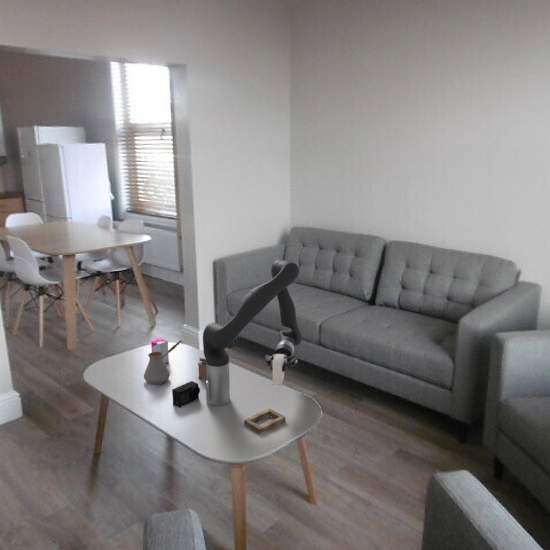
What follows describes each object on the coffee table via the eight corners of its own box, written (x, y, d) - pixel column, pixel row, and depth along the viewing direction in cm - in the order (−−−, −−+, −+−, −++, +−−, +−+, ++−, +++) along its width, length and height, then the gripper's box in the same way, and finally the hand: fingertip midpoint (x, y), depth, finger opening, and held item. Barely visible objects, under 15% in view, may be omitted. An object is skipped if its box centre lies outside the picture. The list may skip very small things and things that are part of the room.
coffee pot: (154, 389, 227) (152, 357, 223) (138, 381, 234) (136, 350, 230) (192, 372, 243) (190, 342, 239) (175, 366, 250) (174, 336, 246)
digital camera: (181, 409, 210) (180, 393, 209) (172, 404, 214) (171, 389, 212) (200, 399, 218) (200, 384, 216) (192, 395, 221) (191, 380, 220)
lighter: (216, 378, 237) (216, 357, 235) (213, 381, 234) (213, 360, 232) (200, 376, 239) (199, 355, 237) (197, 379, 236) (196, 358, 234)
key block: (272, 384, 206) (272, 361, 203) (275, 376, 212) (275, 353, 210) (281, 385, 205) (281, 361, 202) (284, 377, 212) (284, 354, 209)
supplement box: (169, 362, 254) (168, 340, 251) (160, 366, 249) (159, 344, 246) (160, 359, 257) (159, 337, 254) (151, 364, 252) (150, 341, 249)
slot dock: (260, 434, 193) (260, 429, 192) (244, 424, 199) (244, 420, 198) (285, 421, 201) (285, 416, 201) (269, 412, 208) (269, 408, 207)
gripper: (267, 342, 222) (259, 358, 205) (301, 344, 219) (295, 361, 203) (268, 358, 224) (260, 376, 207) (300, 361, 221) (295, 379, 205)
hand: (277, 368), depth 205 cm, fingers closed on key block, 3 cm apart
